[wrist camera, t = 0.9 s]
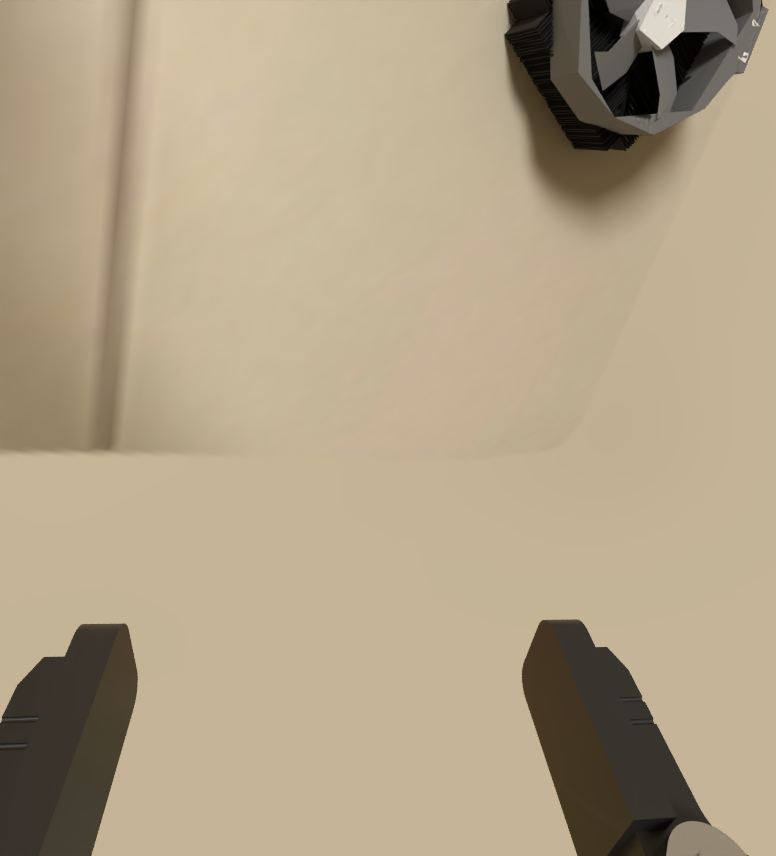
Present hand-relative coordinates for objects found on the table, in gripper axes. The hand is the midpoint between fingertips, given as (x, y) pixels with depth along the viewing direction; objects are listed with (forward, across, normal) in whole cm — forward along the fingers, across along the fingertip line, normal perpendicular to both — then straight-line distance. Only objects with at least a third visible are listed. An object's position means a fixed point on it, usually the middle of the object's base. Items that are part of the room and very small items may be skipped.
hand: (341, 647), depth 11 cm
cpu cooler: (+29, -14, -13) cm, 35 cm away
